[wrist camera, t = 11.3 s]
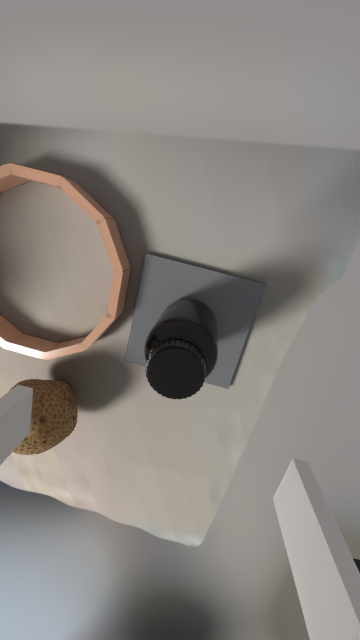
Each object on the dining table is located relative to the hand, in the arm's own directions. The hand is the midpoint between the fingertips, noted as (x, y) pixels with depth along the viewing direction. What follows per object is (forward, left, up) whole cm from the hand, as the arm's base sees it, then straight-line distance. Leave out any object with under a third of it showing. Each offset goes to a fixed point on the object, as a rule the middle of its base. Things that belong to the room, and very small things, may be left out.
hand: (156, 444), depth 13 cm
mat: (0, 0, -20) cm, 20 cm away
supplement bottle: (0, 0, -20) cm, 20 cm away
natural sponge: (-15, -15, -20) cm, 29 cm away
